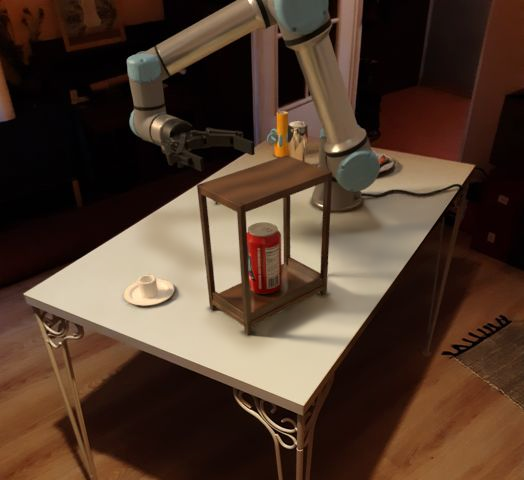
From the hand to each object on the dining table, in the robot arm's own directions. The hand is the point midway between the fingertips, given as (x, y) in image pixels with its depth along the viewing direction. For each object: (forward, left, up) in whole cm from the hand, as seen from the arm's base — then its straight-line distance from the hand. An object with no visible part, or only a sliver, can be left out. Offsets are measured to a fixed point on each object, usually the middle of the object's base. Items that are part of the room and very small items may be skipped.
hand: (228, 156), depth 120 cm
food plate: (-49, -70, -31) cm, 91 cm away
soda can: (-6, +9, -28) cm, 30 cm away
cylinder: (-25, -87, -31) cm, 95 cm away
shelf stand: (-7, +10, -31) cm, 33 cm away
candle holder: (+21, +2, -31) cm, 38 cm away
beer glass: (-28, -73, -31) cm, 84 cm away
